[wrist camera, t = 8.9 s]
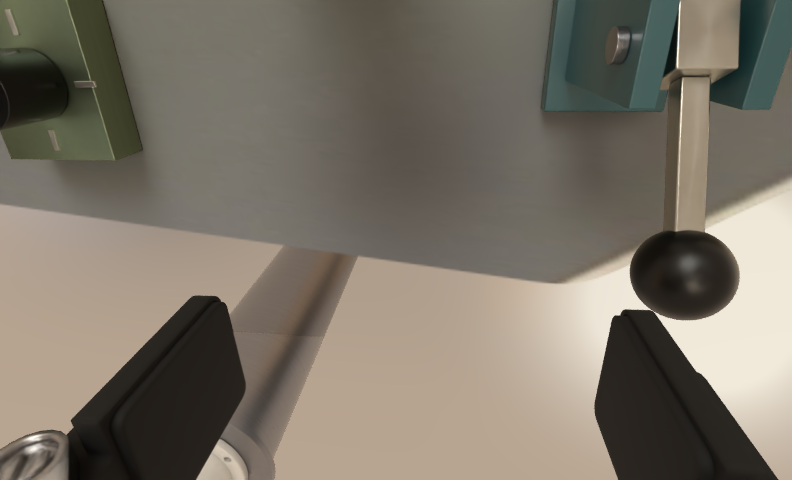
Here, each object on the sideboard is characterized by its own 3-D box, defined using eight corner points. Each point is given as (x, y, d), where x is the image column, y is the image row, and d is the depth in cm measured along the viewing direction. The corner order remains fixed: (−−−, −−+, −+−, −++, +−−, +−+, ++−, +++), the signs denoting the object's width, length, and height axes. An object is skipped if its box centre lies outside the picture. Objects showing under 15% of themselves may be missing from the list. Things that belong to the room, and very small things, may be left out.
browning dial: (53, 46, 27) (-17, 49, 23) (77, 119, 29) (16, 133, 25) (-10, 48, 28) (-89, 51, 24) (18, 119, 29) (-52, 133, 25)
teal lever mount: (655, 108, 27) (782, 157, 17) (540, 108, 28) (592, 156, 18) (690, -42, 24) (876, -99, 13) (558, -38, 25) (636, -87, 14)
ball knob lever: (701, 313, 19) (761, 332, 15) (614, 309, 19) (652, 326, 16) (713, 29, 19) (777, -20, 15) (625, 31, 19) (666, -16, 16)
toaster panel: (146, 150, 33) (117, 161, 30) (43, 149, 34) (5, 160, 31) (106, -3, 28) (67, -7, 26) (-12, 1, 29) (-62, -2, 27)
